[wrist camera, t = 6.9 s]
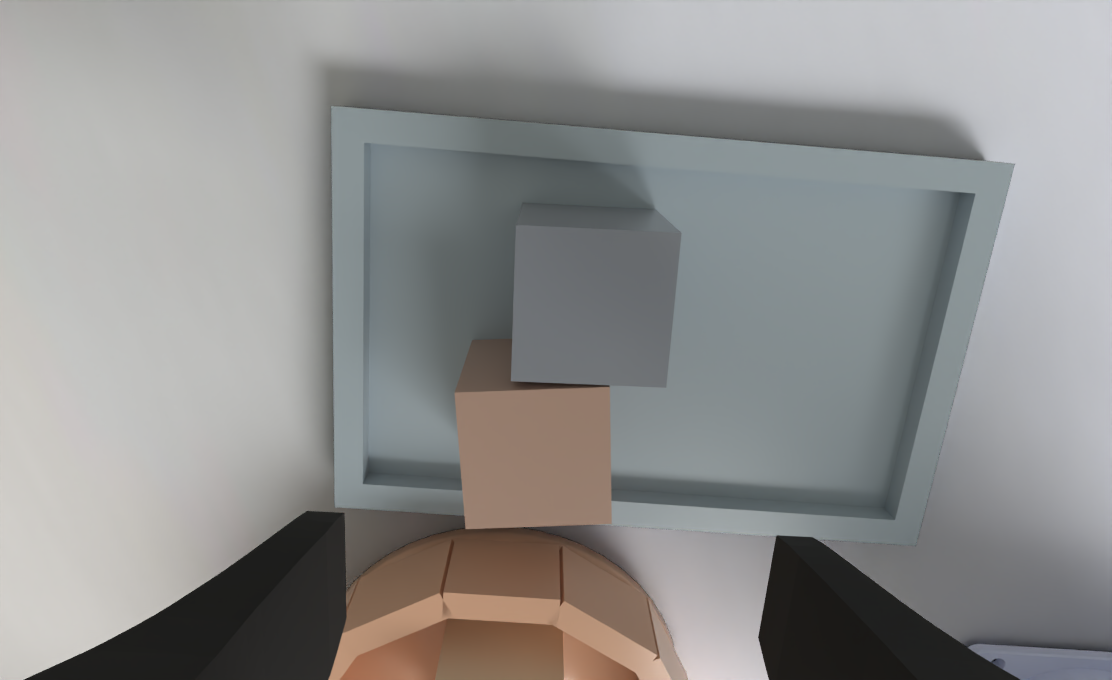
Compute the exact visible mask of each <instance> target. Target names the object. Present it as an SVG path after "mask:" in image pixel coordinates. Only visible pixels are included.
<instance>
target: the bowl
mask: <svg viewBox="0 0 1112 680" xmlns="http://www.w3.org/2000/svg"><path fill="white" fill-rule="evenodd" d="M346 612H347V618H346V622H345V626H344V629H343V633H342V637H341V640H340V644H339V647H338V651H337V654H336V658H335V661H334V664H333V668H332V671H331V674H330V677H329V679H328V680H435V677H436V672H437V667H438V662H439V657H440V652H441V647H442V642H443V637H444V632H445V627H446V622H447V619H448V618H452V619H468V620H484V621H500V622H516V623H532V624H548V625H553V626H555V627H557V628H559V629H560V630H562V631H563V662H564V680H688V677H687V673H686V671H685V669H684V667H683V665H682V663H681V661H680V659H679V657H678V655H677V653H676V652H675V650H674V646H673V642H672V638H671V635H670V633H669V631H668V628H667V626H666V623H665V621H664V619H663V617H662V616H661V614H660V612H659V611H658V609H657V607H656V606H655V604H654V602H653V601H652V600H651V598H650V597H649V596H648V595H647V594H646V592H645V591H644V590H643V589H642V588H641V586H640V585H639V584H638V583H637V582H636V581H635V580H633V579H632V578H631V577H630V576H629V575H628V574H627V573H626V572H625V571H624V570H623V569H621V568H620V567H618V566H617V565H615V564H614V563H613V562H611V561H610V560H608V559H607V558H605V557H604V556H602V555H600V554H599V553H597V552H595V551H593V550H591V549H589V548H587V547H585V546H583V545H581V544H579V543H576V542H573V541H571V540H568V539H565V538H562V537H560V536H557V535H552V534H548V533H544V532H540V531H536V530H530V529H522V528H514V527H513V528H485V529H457V530H453V531H448V532H444V533H440V534H435V535H432V536H429V537H426V538H423V539H421V540H418V541H415V542H412V543H410V544H408V545H406V546H404V547H402V548H400V549H398V550H396V551H394V552H392V553H390V554H388V555H387V556H386V557H384V558H383V559H381V560H380V561H378V562H377V563H375V564H374V565H372V566H371V567H370V568H368V569H367V570H366V571H365V572H364V573H363V574H362V575H361V576H360V577H359V578H357V579H356V580H355V581H354V582H353V583H352V585H351V586H350V587H349V588H348V589H347V591H346Z"/></svg>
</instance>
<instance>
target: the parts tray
mask: <svg viewBox="0 0 1112 680" xmlns="http://www.w3.org/2000/svg"><path fill="white" fill-rule="evenodd" d="M331 155H332V271H333V388H334V504H335V507H339V508H354V509H369V510H384V511H399V512H414V513H429V514H444V515H459V516H464V505H463V492H462V480H461V468H460V455H459V443H458V430H457V418H456V406H455V393H454V392H455V389H456V387H457V384H458V381H459V378H460V375H461V372H462V369H463V366H464V363H465V360H466V357H467V354H468V351H469V348H470V345H471V342H472V340H486V339H512V329H513V298H514V267H515V236H516V223H517V219H518V216H519V212H520V209H521V206H522V203H542V204H563V205H584V206H605V207H626V208H647V209H656V210H657V211H658V212H659V213H660V214H662V215H663V216H664V217H665V218H666V219H667V220H668V221H669V222H670V223H671V224H673V225H674V226H675V227H676V228H677V229H678V230H679V231H680V232H681V233H682V234H681V244H680V254H679V264H678V274H677V284H676V294H675V305H674V315H673V325H672V335H671V345H670V355H669V365H668V375H667V385H666V388H661V387H637V386H613V385H610V433H611V506H612V524H598V525H608V526H623V527H638V528H653V529H668V530H683V531H698V532H713V533H728V534H743V535H758V536H773V537H776V536H777V535H781V536H801V537H813V538H815V539H818V540H833V541H848V542H863V543H878V544H893V545H908V546H916V543H917V540H918V536H919V532H920V528H921V524H922V520H923V516H924V513H925V509H926V505H927V501H928V497H929V493H930V489H931V486H932V482H933V478H934V474H935V470H936V466H937V462H938V459H939V455H940V451H941V447H942V443H943V439H944V435H945V432H946V428H947V424H948V420H949V416H950V412H951V408H952V405H953V401H954V397H955V393H956V389H957V385H958V381H959V378H960V374H961V370H962V366H963V362H964V358H965V354H966V350H967V347H968V343H969V339H970V335H971V331H972V327H973V323H974V320H975V316H976V312H977V308H978V304H979V300H980V296H981V293H982V289H983V285H984V281H985V277H986V273H987V269H988V266H989V262H990V258H991V254H992V250H993V246H994V242H995V239H996V235H997V231H998V227H999V223H1000V219H1001V215H1002V212H1003V208H1004V204H1005V200H1006V196H1007V192H1008V188H1009V185H1010V181H1011V177H1012V173H1013V169H1014V165H1015V164H1012V163H1003V162H994V161H984V160H972V159H960V158H948V157H937V156H925V155H913V154H901V153H889V152H878V151H866V150H854V149H842V148H830V147H819V146H807V145H795V144H783V143H771V142H759V141H748V140H736V139H724V138H712V137H700V136H689V135H677V134H665V133H653V132H641V131H630V130H618V129H606V128H594V127H582V126H571V125H559V124H547V123H535V122H523V121H512V120H500V119H488V118H476V117H464V116H452V115H441V114H429V113H417V112H405V111H393V110H382V109H370V108H358V107H346V106H331Z"/></svg>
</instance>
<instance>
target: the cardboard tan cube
mask: <svg viewBox="0 0 1112 680" xmlns="http://www.w3.org/2000/svg"><path fill="white" fill-rule="evenodd" d="M511 360H512V339H486V340H472V342H471V345H470V348H469V351H468V354H467V357H466V360H465V363H464V366H463V369H462V372H461V375H460V378H459V381H458V384H457V387H456V389H455V392H454V393H455V406H456V418H457V430H458V443H459V455H460V468H461V480H462V492H463V505H464V517H465V529H485V528H513V527H542V526H570V525H598V524H612V506H611V433H610V385H590V384H566V383H542V382H518V381H511Z"/></svg>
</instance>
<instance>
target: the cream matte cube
mask: <svg viewBox="0 0 1112 680" xmlns="http://www.w3.org/2000/svg"><path fill="white" fill-rule="evenodd" d="M435 680H564V662H563V631H562V630H560V629H559V628H557V627H555V626H553V625H548V624H532V623H516V622H500V621H484V620H468V619H452V618H448V619H447V622H446V627H445V632H444V637H443V642H442V647H441V652H440V657H439V662H438V667H437V672H436V677H435Z"/></svg>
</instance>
